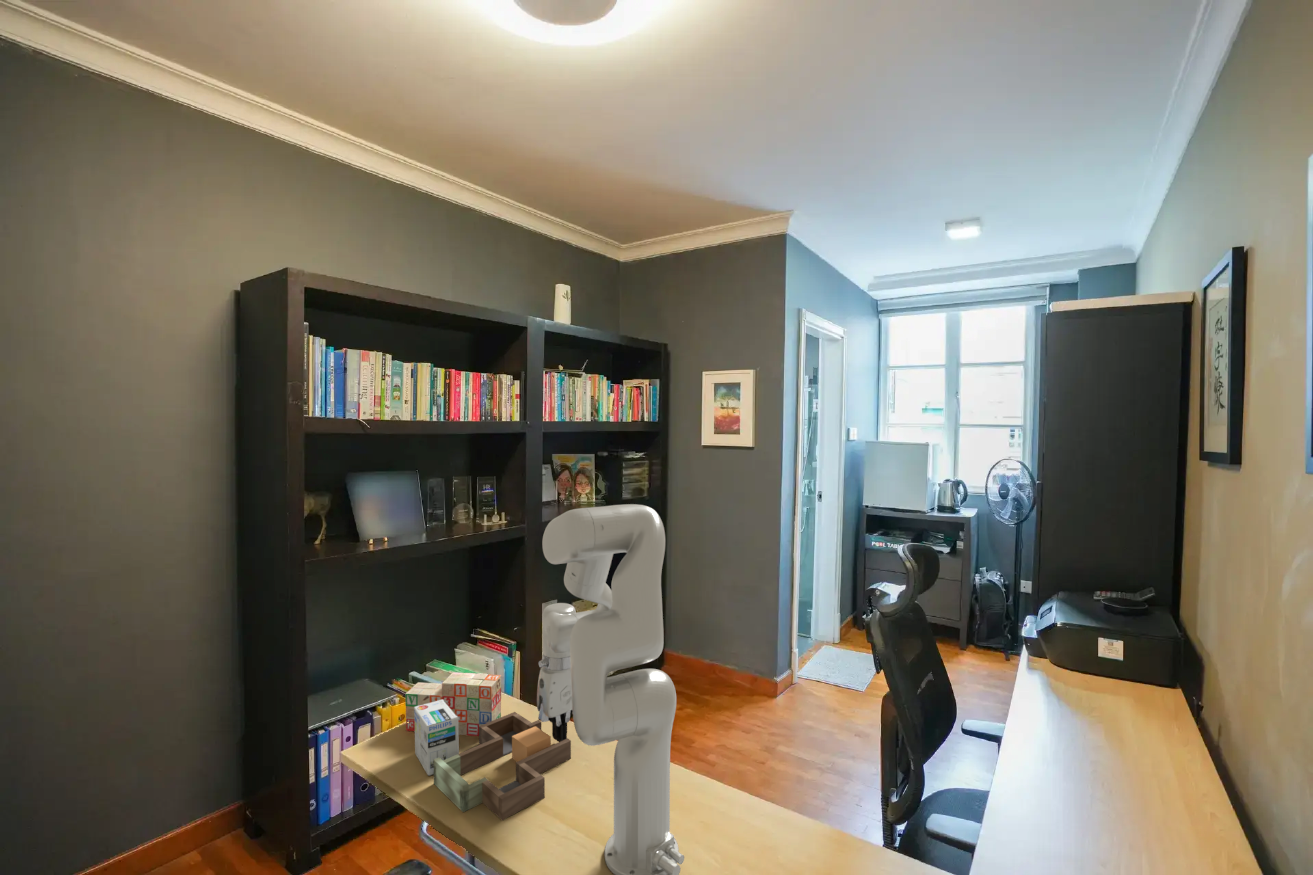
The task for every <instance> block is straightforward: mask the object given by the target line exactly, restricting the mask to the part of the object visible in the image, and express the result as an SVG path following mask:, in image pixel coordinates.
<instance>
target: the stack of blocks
mask: <svg viewBox="0 0 1313 875" xmlns="http://www.w3.org/2000/svg"><path fill="white" fill-rule="evenodd" d="M404 698H405V699H404V700H405V701H404V702H405V705H404V706H405V718H406V719H405V731H406V732H415V717H414V707H416V706H419V705H424V704H427V703H431V702H435V701H439V700H442V699H443V700H444V701H445V702H446V704H447V705H448V706H449V708H450V709H451V710H452V711H453V712H454V713H455V714H456V715H457V716H458V735H462V736H463V735H464V736H471V737H472V736H473V737H479V726H481V725H483V724H486V723H488V722H491V721H493V720H496V719H498V718H501V717H502V711H501V710H502V675H501V674H489V673H483V672H481V673H480V672H479V673H474V672H465V673H464V672H456V671H455V672H454V671H453V672H452V673H451V674H449V676H447V677H446V679H444V681H443V682H442V683H440V682H439V683H437V682H419V681H418V682H417V683H415V684H414V685H413V686H412V687H411V688H410V689H409V690H408V691H406V693H405V697H404ZM407 722H409V723H407ZM406 723H407V724H406Z"/></svg>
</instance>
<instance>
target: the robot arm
mask: <svg viewBox="0 0 1313 875" xmlns="http://www.w3.org/2000/svg"><path fill="white" fill-rule="evenodd" d="M544 529H545V530H544V532H543V536H542V542H541V543H542V552H543V556H544V558H545V559H546V560H547V562H548V563H550V564H552V565H560V564H562V565H563V564H566V567H565V572H564V575H563V584H564V587H565V588H566V590H567V591H568V592H569V593H570V594H571V595H573V596H574V597H576V598H579V599H582V600H586V601H588V602H591V603H595V604H597V606H596V608H595V609H592V610H591V609H590V610H585V611H584V610H583V611H579V612H576V608H575V606H573V605H572V604H569V603H567V602H557V603H556V602H555V603H553V604H552V603H551V604H549V605H547V606H545V607H544V608H543V611H542V655H541V656H542V658H541V660H539V661H538V666H539V668H540V670H539V675H538V681H537V690H536V708H537V711H538V719H537V720H539V721H541V723H545V722H546V723H547V722H550V723H551V733H552V738H553V739H554V740H555V741H557V743H559V742H561V741H563V740H565V739H567V738H568V737H567V736H568V723H569V722H570V718H571V716H572V720H573V725H574V729H575V732H576V735H577V737H578V739H580V741H581V742H582V743H583V744H585V745H588V746H593V747H594V746H600V745H604V744H608V743H611V742H617V743H616V746H615V750H614V756H613V834H612V835H611V836H610V837H609V838H608V839H607V841H606V843H605V847H604V860H605V864H606V866H607V868H608V869H609V871H611V873H613V875H680V873H681V866H680V865H682V864H683V863H684V861H685V855H684V854H682V853H681V852H679V851H680V849H679V845H678V841H677V840H676V838H675V835H674V834H673V833H671V832H670V830H671V829H670V828H671V827H670V825H671V824H670V822H671V821H670V819H671V818H670V817H671V816H670V815H671V814H670V811H671V810H670V809H671V808H670V807H671V806H670V805H671V804H670V803H671V800H670V799H671V795H670V794H671V793H670V792H671V791H670V790H671V775H670V774H671V741H672V730H673V726H674V720H675V715H676V710H677V693H676V686H675V685H674V682H673V681H672V680H673V679H672V678H671V677H670V676H669V675H668V673H666V672H664V671H663V670H660V669H656V668H642V669H637V670H633V671H627V672H625V673H619V674H616V675H612V676H608V674H609V673H612V672H614V671H619V670H624V669H627V668H632V667H635V666H640V665H644V664H648V663H650V662H653V661H655V660H656V659H658V658H659V657H660V655H661V654H662V652H663V649H664V637H665V636H664V619H663V618H664V616H663V615H664V614H663V598H662V597H663V595H662V594H663V593H662V571H663V570H662V569H663V564H664V558H665V552H666V532H665V527H664V523H663V521H662V519H661V516H660V515H659V513H658V512H657V511H656V510H655V509H654V508H652V507H650V506H647V505H644V504H636V503H635V504H634V503H630V504H629V503H628V504H627V503H626V504H613V505H605V506H604V505H603V506H594V507H582V508H574V509H570V510H567V511H565V512H563V513H561V514H560V515H558V516H556V517H554V518H553V519H552V520H550V521H549V523H548V524H547V525H546V527H545V528H544ZM620 553H625V555H624V556H623V558H622V559H621V561H620V562H619V564H617V567H616V569H615V571H614V573H613V575H612V580H611V586H609V585H608V584H607V583H606V582H607V579H608V575H609V571H610V568H611V566H612V560H613V557H614V554H620ZM610 587H611V588H610Z"/></svg>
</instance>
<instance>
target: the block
mask: <svg viewBox="0 0 1313 875" xmlns="http://www.w3.org/2000/svg"><path fill="white" fill-rule="evenodd" d="M551 738H552V737H551V736H550V734H548V733H546V732H545V731H544V730H543V729H541V730H540V729H539V728H537V727H536V726H535V727H533V728H530V729H528V730H525V731H523V732H521V733H518V734H516V735H514V736H512V752H511V759H513V760H514V761H516V762H518V761H520V760H522V759H525V758H527V757H529V756H531V755H533V754H535V753H537V752H539V751H542V750H544V749H546V748H548V747H550V746H552V745H551V744H552V742H551V741H552V739H551Z"/></svg>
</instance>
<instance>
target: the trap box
mask: <svg viewBox="0 0 1313 875" xmlns="http://www.w3.org/2000/svg"><path fill="white" fill-rule="evenodd" d="M535 726H536V727H537V728H539V729H540V730H542V722H541V721H540V720H539V719H537V720H535V721H533V722H532V721H530V720H528V719H527V718H525V717H524V716H522V715H520V714H519V713H517V712H516V711H513V712H511V713H508V714H506V715H503V716H501V718H498V719H496V720H493V721H491V722H488V723H486V724H483V725H481V726H479V736H478V743H479V744H478V745H476V746H473V747H471V748H469V749H466V750H464V751H462V752H459V754H457V755H455V756H452V757H450V758H448V759H445V760H442V759H441V758H436V759H434V774H433V785H434V786H435V787H436V788H438V789H439V791H441V792H442V793H443V794H444V795H445V796H446V797H447V798H448V799H449V800H450V801H451V802H452V803H453V804H454V805H455V806H456V807H457V808H458V809H460V811H461V812H462V813H465V812H467V811H469V810H471V809H473V808H474V807H477V806H478V805H481V804H483V805H484V806H485V807H487V809H489V811H491V812H492V813H493V814H494V815H496V816H497V817H498V818H499V819H500V820H501V821H504V820H506V819H507V818H509V817H512V816H513V815H515V814H517V813H519V812H521V811H522V810H524V809H526V808H527V807H530V806H532V805H533V804H535V803H538V802H539V801H541V800H543V799H545V796H546V795H545V794H546V793H545V791H546V789H545V787H546V786H545V785H546V784H545V780H546V779H545V778H546V777H544V775H542V773H545V772H547V771H549V770H550V769H553V768H555V767H556V766H559V765H561V764H562V763H564V762H567V761H568V760H570V759H571V758H572V750H571V749H572V746H571V745H572V740H571V739H570V738H568V737H567V739H565V740H563V741H561V742H557V743H554V744H552V745H551V746H550V747H548V748H546V749H544V750H542V751H539V752H537V753H535V754H533V755H531V756H529V757H527V758H525V759H522V760H520V761H518V762H517V761H516V762H515V780H514V781H512V782H510V783H507V784H506V785H503V786H502V787H498V786H496V785H495V784H493V783H492V782H491V781H490V780H489V779H488V778H486V777H485V776H484V777H483V778H479V779H478V780H475V781H474V782H471V783H470V784H469V782H468V781H467V780H465V779H464V778H463V777H462V775H464V774H467V773H469V772H472V771H473V770H476V769H478V768H481V767H482V766H485V765H487V764H489V763H492V762H493V761H496V760H497V759H500V758H501V757H505V756H507V755H508V754H509V755H510V754H512V736H514V735H516V734H518V733H521V732H523V731H525V730H528V729H530V728H533V727H535Z"/></svg>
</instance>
